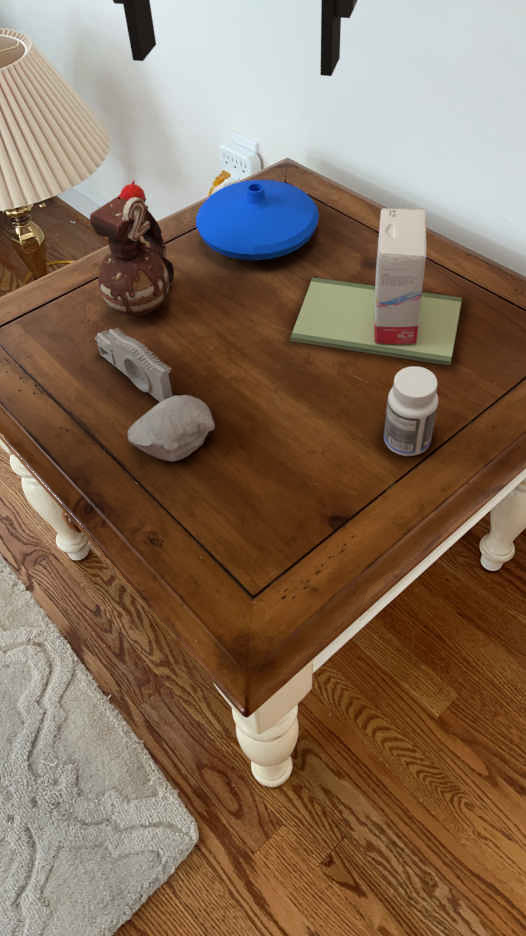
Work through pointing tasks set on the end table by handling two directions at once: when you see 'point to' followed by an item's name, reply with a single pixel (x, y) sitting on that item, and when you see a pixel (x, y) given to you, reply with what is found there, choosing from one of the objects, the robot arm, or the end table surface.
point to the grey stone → (172, 428)
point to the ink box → (399, 275)
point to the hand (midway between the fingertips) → (235, 60)
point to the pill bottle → (411, 411)
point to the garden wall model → (136, 363)
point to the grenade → (132, 254)
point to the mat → (352, 322)
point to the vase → (257, 219)
